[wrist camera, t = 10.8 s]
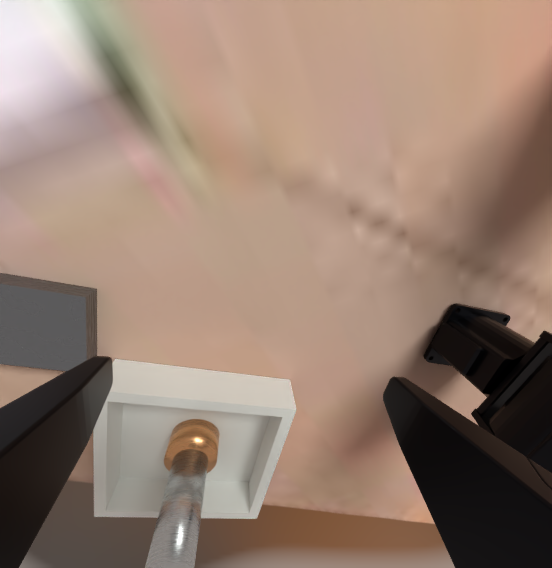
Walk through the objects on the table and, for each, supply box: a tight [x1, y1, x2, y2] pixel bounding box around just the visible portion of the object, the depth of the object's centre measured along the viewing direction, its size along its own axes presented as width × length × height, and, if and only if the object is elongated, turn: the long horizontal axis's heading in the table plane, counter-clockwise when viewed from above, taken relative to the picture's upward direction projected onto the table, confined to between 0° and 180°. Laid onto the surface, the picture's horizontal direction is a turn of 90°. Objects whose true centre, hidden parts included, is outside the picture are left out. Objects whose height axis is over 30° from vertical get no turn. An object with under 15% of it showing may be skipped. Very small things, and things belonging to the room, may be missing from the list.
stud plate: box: [0, 273, 97, 371], centre depth 20 cm, size 7×7×2 cm
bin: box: [93, 359, 296, 519], centre depth 25 cm, size 16×16×4 cm
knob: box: [145, 419, 220, 568], centre depth 22 cm, size 5×5×10 cm
